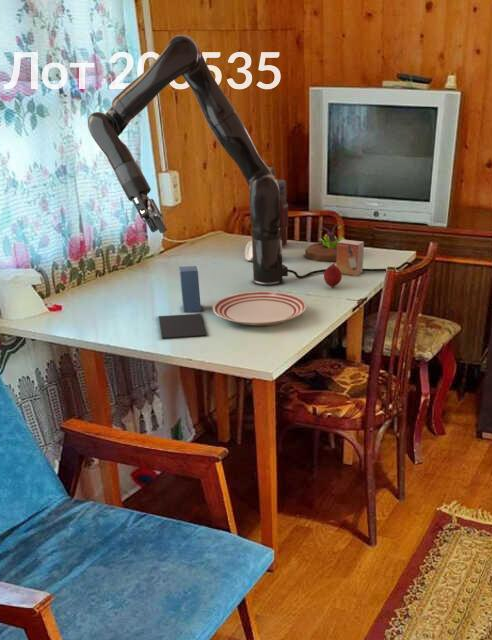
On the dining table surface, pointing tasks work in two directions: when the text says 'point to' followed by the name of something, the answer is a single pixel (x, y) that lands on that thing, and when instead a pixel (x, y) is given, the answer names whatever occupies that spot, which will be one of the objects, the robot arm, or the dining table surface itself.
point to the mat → (181, 326)
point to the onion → (332, 275)
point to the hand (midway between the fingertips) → (159, 231)
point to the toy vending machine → (282, 208)
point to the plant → (325, 247)
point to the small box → (350, 257)
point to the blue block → (190, 288)
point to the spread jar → (250, 254)
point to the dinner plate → (260, 308)
